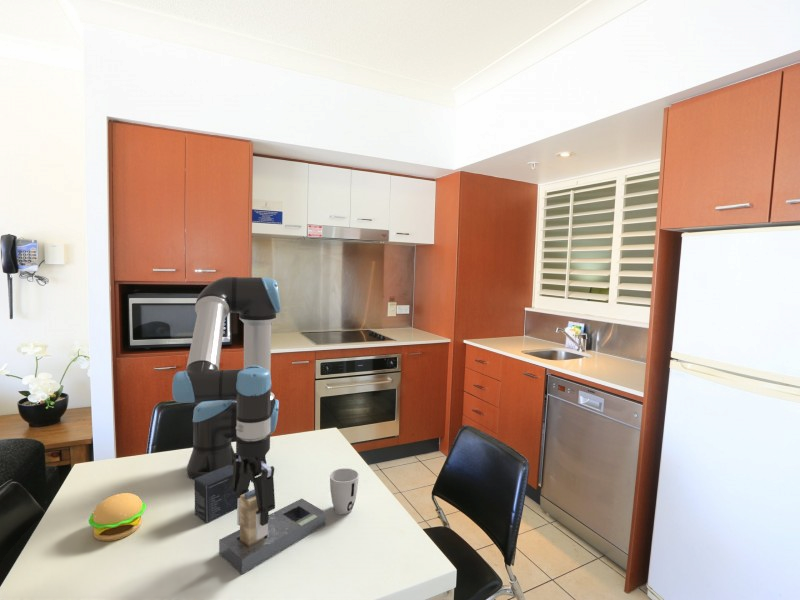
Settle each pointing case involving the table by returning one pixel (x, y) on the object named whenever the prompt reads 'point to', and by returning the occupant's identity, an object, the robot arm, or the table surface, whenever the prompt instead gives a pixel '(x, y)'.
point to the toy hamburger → (117, 516)
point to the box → (214, 494)
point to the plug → (248, 519)
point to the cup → (343, 489)
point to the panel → (273, 535)
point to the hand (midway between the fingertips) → (252, 529)
